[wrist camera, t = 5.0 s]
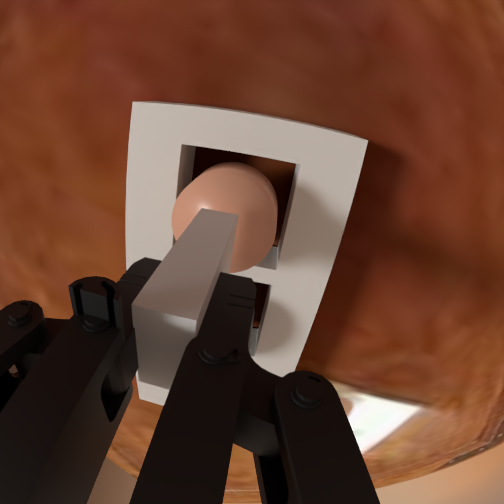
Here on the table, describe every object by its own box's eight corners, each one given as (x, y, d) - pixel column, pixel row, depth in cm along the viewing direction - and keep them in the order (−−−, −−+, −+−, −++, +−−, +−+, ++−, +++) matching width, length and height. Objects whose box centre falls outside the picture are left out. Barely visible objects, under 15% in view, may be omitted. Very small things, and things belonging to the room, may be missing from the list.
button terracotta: (194, 155, 16) (176, 166, 13) (286, 171, 16) (286, 185, 13) (185, 237, 18) (169, 262, 15) (268, 253, 18) (265, 281, 15)
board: (154, 101, 17) (132, 101, 14) (355, 135, 16) (368, 140, 14) (149, 375, 27) (139, 398, 25) (271, 402, 27) (270, 427, 25)
